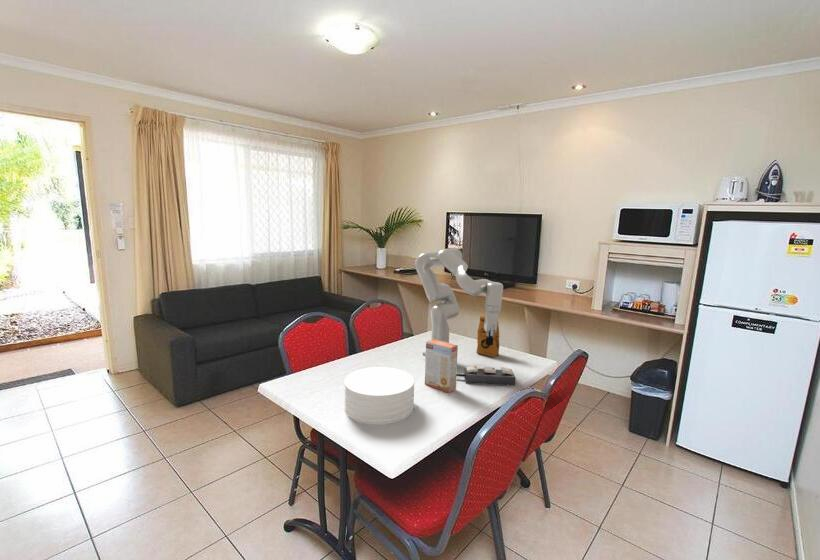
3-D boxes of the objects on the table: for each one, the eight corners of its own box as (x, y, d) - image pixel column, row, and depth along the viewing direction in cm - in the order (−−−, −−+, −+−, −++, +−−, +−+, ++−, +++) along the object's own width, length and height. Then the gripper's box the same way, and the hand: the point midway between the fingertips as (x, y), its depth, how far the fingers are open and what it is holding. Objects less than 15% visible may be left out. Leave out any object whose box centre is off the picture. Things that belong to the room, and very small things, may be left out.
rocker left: (467, 372, 183) (467, 370, 183) (466, 369, 187) (466, 366, 187) (477, 371, 183) (477, 368, 182) (477, 367, 187) (476, 365, 186)
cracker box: (456, 389, 174) (458, 344, 171) (448, 393, 170) (450, 348, 167) (432, 380, 183) (433, 338, 180) (424, 384, 179) (425, 340, 176)
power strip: (452, 382, 182) (453, 372, 181) (451, 375, 191) (452, 365, 190) (515, 385, 180) (515, 375, 179) (511, 378, 189) (512, 368, 188)
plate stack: (391, 386, 176) (392, 362, 174) (427, 413, 152) (428, 385, 151) (333, 400, 161) (333, 374, 159) (362, 432, 137) (363, 402, 136)
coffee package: (493, 359, 215) (496, 320, 211) (474, 354, 222) (475, 317, 219) (501, 354, 222) (503, 317, 219) (482, 349, 230) (484, 314, 227)
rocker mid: (484, 372, 182) (485, 369, 182) (483, 368, 186) (484, 366, 186) (495, 373, 182) (495, 370, 182) (494, 370, 186) (494, 367, 186)
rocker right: (502, 372, 182) (503, 369, 182) (500, 369, 186) (501, 366, 186) (512, 374, 182) (513, 372, 182) (511, 371, 186) (511, 369, 186)
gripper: (483, 303, 191) (479, 338, 194) (486, 311, 176) (482, 349, 180) (498, 304, 191) (494, 340, 194) (503, 312, 176) (499, 350, 179)
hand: (489, 344), depth 187 cm, fingers closed
